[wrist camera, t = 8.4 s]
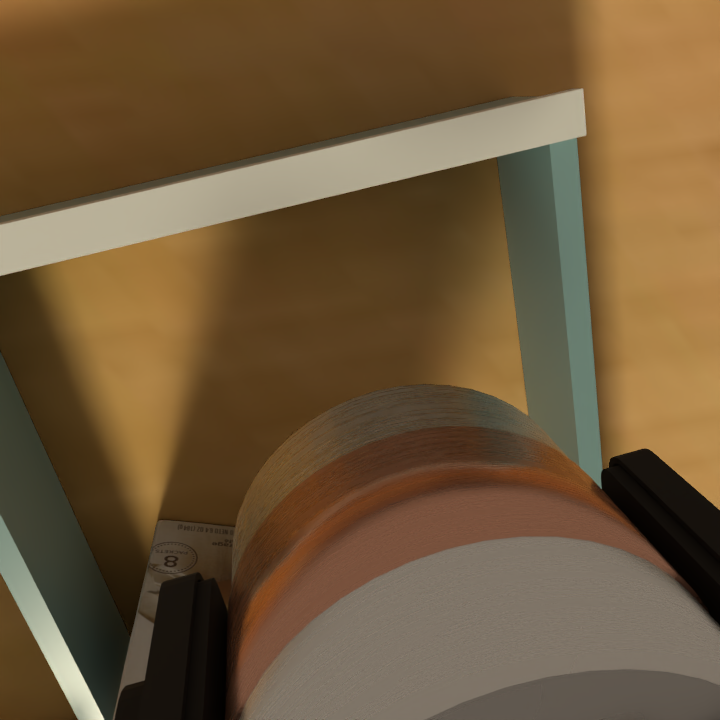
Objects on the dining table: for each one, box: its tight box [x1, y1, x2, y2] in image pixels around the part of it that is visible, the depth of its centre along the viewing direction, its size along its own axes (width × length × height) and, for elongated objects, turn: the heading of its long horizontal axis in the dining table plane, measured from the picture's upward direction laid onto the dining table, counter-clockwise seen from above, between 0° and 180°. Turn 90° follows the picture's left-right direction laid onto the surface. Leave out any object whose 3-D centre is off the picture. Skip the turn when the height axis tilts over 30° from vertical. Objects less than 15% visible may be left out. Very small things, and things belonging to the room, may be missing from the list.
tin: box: [224, 384, 720, 720], centre depth 9 cm, size 6×6×6 cm
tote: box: [0, 88, 602, 720], centre depth 24 cm, size 20×24×5 cm
